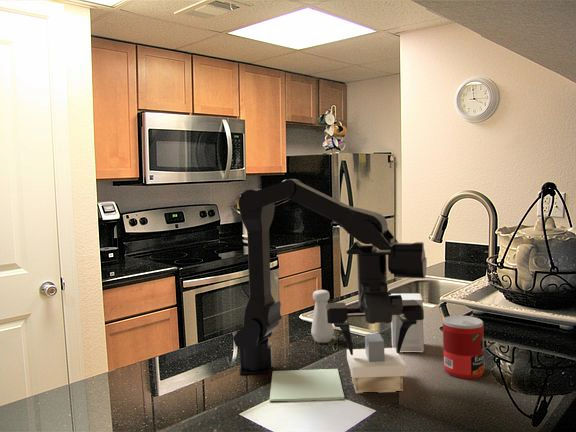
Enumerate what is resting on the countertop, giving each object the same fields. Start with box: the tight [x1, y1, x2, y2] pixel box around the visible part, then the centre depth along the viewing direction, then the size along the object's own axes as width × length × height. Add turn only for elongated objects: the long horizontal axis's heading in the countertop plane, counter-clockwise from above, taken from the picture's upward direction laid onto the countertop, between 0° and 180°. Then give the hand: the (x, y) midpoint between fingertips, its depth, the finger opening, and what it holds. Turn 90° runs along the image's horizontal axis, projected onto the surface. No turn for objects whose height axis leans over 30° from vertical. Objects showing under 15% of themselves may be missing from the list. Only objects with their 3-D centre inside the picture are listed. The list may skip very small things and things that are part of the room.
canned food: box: [442, 314, 485, 380], centre depth 102 cm, size 8×8×11 cm
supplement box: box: [390, 292, 425, 352], centre depth 118 cm, size 7×7×13 cm
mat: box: [269, 368, 345, 402], centre depth 99 cm, size 14×14×1 cm
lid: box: [346, 332, 407, 378], centre depth 98 cm, size 10×10×6 cm
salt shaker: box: [310, 289, 334, 344], centre depth 126 cm, size 6×6×13 cm
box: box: [350, 373, 404, 394], centre depth 98 cm, size 9×9×4 cm
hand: (374, 353), depth 98 cm, fingers open, 9 cm apart
